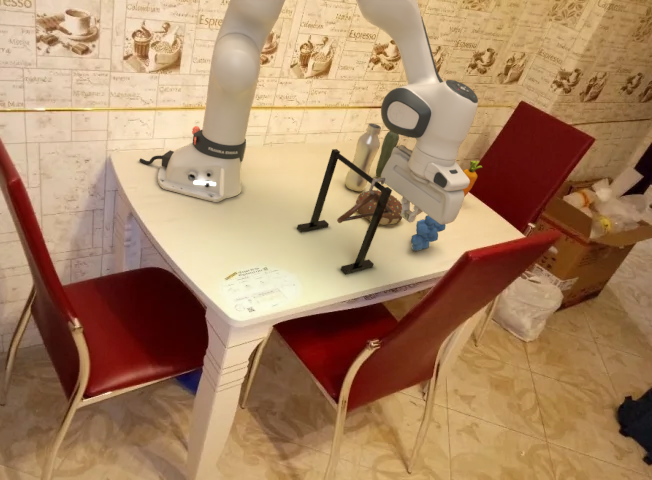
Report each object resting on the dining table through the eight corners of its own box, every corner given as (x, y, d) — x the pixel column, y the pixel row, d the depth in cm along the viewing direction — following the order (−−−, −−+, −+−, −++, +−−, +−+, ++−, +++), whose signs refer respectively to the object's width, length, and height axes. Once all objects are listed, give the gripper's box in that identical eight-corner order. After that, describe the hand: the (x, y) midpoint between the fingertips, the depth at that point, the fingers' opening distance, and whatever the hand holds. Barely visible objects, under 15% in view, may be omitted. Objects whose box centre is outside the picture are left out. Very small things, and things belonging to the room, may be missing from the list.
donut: (391, 205, 155) (397, 190, 152) (406, 230, 145) (412, 215, 142) (346, 199, 152) (352, 183, 149) (358, 224, 141) (364, 208, 138)
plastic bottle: (363, 196, 156) (386, 133, 144) (341, 189, 156) (362, 126, 144) (364, 187, 161) (386, 125, 149) (344, 180, 161) (364, 119, 149)
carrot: (457, 198, 169) (477, 156, 160) (466, 207, 166) (487, 164, 157) (445, 198, 167) (465, 156, 158) (453, 206, 164) (474, 163, 155)
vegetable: (382, 183, 166) (405, 123, 154) (369, 179, 166) (391, 119, 154) (384, 177, 170) (406, 119, 158) (371, 173, 170) (392, 115, 158)
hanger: (338, 224, 113) (352, 183, 107) (335, 221, 114) (349, 180, 108) (392, 214, 123) (408, 176, 117) (389, 211, 123) (404, 173, 117)
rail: (345, 275, 121) (376, 193, 108) (296, 228, 132) (318, 149, 119) (372, 267, 126) (405, 188, 113) (323, 223, 137) (347, 147, 124)
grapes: (421, 236, 144) (439, 198, 137) (440, 249, 140) (459, 211, 133) (395, 244, 137) (412, 205, 130) (414, 258, 134) (432, 219, 126)
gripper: (386, 141, 113) (366, 197, 121) (457, 188, 101) (429, 246, 109) (406, 140, 116) (385, 194, 125) (476, 185, 104) (448, 241, 113)
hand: (406, 219), depth 117 cm, fingers closed
